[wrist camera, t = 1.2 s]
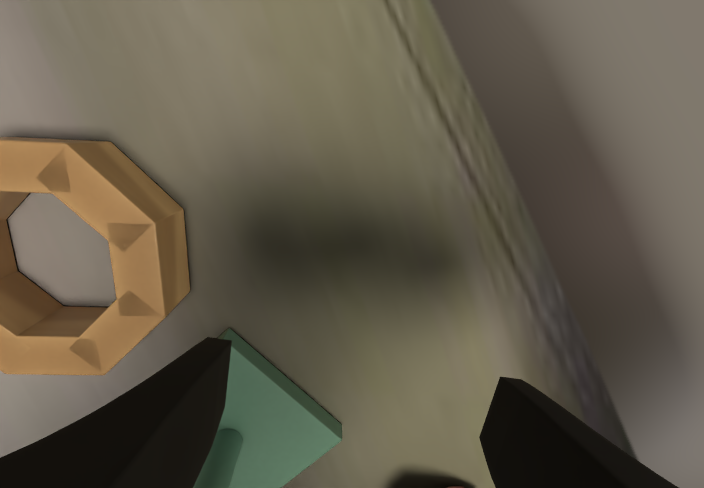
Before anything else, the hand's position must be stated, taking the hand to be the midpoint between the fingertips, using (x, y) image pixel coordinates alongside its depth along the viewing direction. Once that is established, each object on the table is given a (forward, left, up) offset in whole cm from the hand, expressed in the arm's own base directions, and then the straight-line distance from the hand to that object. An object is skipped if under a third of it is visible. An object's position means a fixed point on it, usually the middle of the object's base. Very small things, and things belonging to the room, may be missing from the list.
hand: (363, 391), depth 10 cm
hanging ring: (-9, +10, -10) cm, 17 cm away
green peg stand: (-12, -3, -10) cm, 16 cm away
